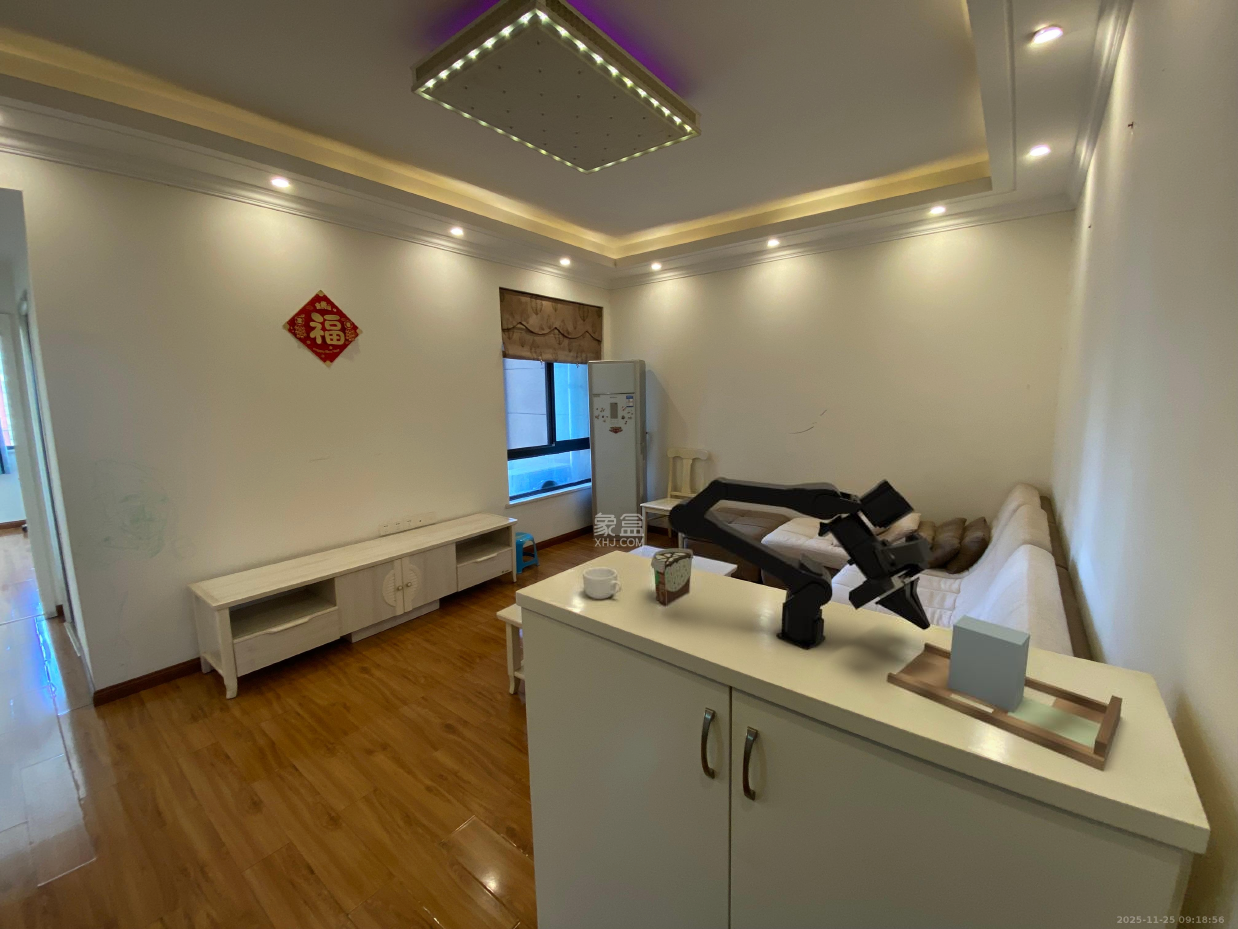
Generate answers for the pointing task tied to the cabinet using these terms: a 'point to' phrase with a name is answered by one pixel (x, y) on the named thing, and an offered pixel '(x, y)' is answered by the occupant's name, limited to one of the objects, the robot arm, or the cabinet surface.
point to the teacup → (600, 582)
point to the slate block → (988, 662)
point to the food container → (672, 574)
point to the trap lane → (1023, 710)
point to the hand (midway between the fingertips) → (927, 628)
